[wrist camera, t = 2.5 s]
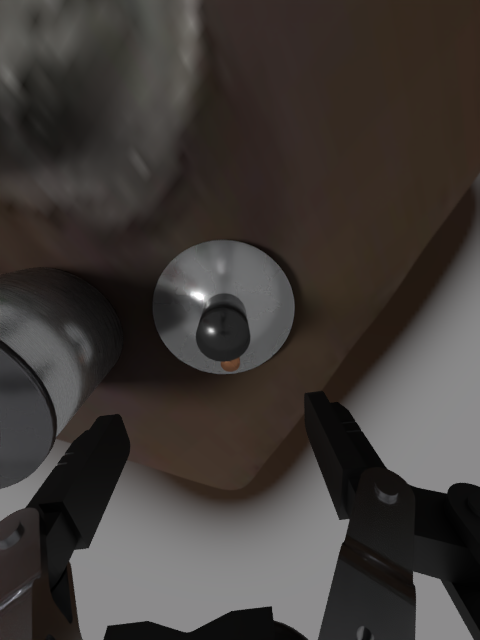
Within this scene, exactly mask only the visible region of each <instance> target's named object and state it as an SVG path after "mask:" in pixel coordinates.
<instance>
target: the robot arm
mask: <svg viewBox="0 0 480 640" xmlns="http://www.w3.org/2000/svg"><path fill="white" fill-rule="evenodd" d="M304 408H305V427H306V432H307V435H308V438H309V441H310V443H311V446H312V449H313V451H314V454H315V457H316V459H317V462H318V465H319V467H320V470H321V472H322V475H323V477H324V480H325V483H326V485H327V488H328V491H329V493H330V496H331V499H332V501H333V504H334V507H335V509H336V512H337V515H338V517H339V520H342V519H350V521H349V525H348V529H347V534H346V538H345V541H344V542H343V543H342V546H341V549H340V552H339V556H338V561H337V564H336V569H335V572H334V576H333V581H332V585H331V589H330V593H329V597H328V601H327V605H326V609H325V613H324V617H323V621H322V625H321V629H320V633H319V637H318V640H415V620H416V591H415V586H414V584H413V571H414V572H418V573H421V574H425V575H428V576H432V577H435V578H439V579H441V581H442V583H443V585H444V586H445V588H446V590H447V592H448V594H449V595H450V597H451V599H452V601H453V603H454V605H455V606H456V608H457V610H458V612H459V614H460V615H461V617H462V619H463V621H464V623H465V624H466V626H467V628H468V630H469V631H470V633H471V635H472V637H473V639H474V640H480V487H478V486H476V485H472V484H468V483H456V484H453V485H452V486H451V487H450V488H449V489H448V493H447V494H446V493H441V492H436V491H431V490H426V489H421V488H416V487H414V486H411V485H408V484H407V483H406V481H405V480H404V479H402V478H401V477H400V476H399V475H397V474H396V473H394V472H392V471H390V470H388V469H387V468H386V467H385V466H384V464H383V462H382V461H381V459H380V458H379V456H378V455H377V453H376V452H375V450H374V449H373V447H372V446H371V444H370V443H369V441H368V439H367V438H366V437H365V435H364V433H363V432H362V431H361V429H360V427H359V426H358V424H357V423H356V422H355V420H354V418H353V417H352V415H351V414H350V412H349V410H347V409H346V408H345V407H344V406H342V405H341V404H340V403H338V402H334V403H330V402H329V400H328V399H327V397H326V395H325V393H324V392H323V391H318V392H310V393H305V395H304ZM129 452H130V440H129V437H128V434H127V432H126V429H125V426H124V423H123V420H122V418H121V416H120V415H119V414H115V415H106V416H100V417H98V418H97V419H96V421H95V422H94V424H93V425H92V427H91V428H90V429H89V430H87V431H85V432H84V433H82V434H81V435H80V436H79V437H78V438H77V439H76V440H74V441H73V443H72V444H71V446H70V447H69V448H68V450H67V451H66V453H65V456H63V457H62V458H61V460H60V461H59V462H58V465H57V466H56V467H55V468H54V469H53V470H52V472H51V473H50V475H49V476H48V477H47V479H46V480H45V482H44V483H43V484H42V486H41V487H40V488H39V490H38V491H37V493H36V494H35V495H34V497H33V498H32V500H31V501H30V502H29V504H28V505H27V506H26V508H24V509H21V510H18V511H16V512H14V513H12V514H10V515H9V516H7V517H6V518H4V519H3V520H2V521H0V640H83V639H82V637H81V633H80V629H79V623H78V615H77V607H76V600H75V592H74V584H73V577H72V569H71V564H70V562H69V560H70V558H71V555H72V553H73V551H74V550H76V549H86V548H89V546H90V544H91V541H92V539H93V537H94V534H95V532H96V530H97V527H98V525H99V523H100V521H101V518H102V516H103V514H104V511H105V509H106V507H107V505H108V502H109V500H110V497H111V495H112V493H113V491H114V488H115V486H116V484H117V482H118V479H119V477H120V475H121V472H122V470H123V468H124V465H125V463H126V461H127V459H128V456H129ZM104 640H308V639H307V638H306V637H305V636H304V635H302V634H301V633H299V632H298V631H297V630H295V629H294V628H292V627H290V626H288V625H286V624H284V623H280V622H277V621H274V620H273V613H272V607H262V608H254V609H245V610H237V611H231V612H229V613H227V614H225V615H223V616H221V617H219V618H217V619H215V620H214V621H211V622H210V623H208V624H206V625H204V626H202V627H200V628H198V629H196V630H194V631H192V632H188V633H186V632H181V631H178V630H175V629H172V628H169V627H165V626H162V625H159V624H156V623H153V622H149V621H145V622H136V623H128V624H120V625H111V626H107V630H106V633H105V636H104Z"/></svg>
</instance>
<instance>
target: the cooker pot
mask: <svg viewBox="0 0 480 640" xmlns="http://www.w3.org/2000/svg"><path fill="white" fill-rule="evenodd" d="M122 347H123V331H122V327H121V323H120V320H119V318H118V315H117V314H116V312H115V310H114V308H113V307H112V305H111V304H110V303H109V301H108V300H107V299H106V298H105V297H104V296H103V294H102V293H100V292H99V291H98V290H97V289H96V288H95V287H93V286H92V285H91V284H89V283H88V282H86V281H85V280H83V279H81V278H79V277H77V276H75V275H73V274H70V273H68V272H65V271H61V270H57V269H52V268H41V267H40V268H29V269H24V270H19V271H15V272H10V273H6V274H1V275H0V489H1V488H5V487H8V486H11V485H13V484H16V483H18V482H20V481H22V480H23V479H25V478H27V477H28V476H29V475H31V474H32V473H33V472H34V471H35V470H36V469H37V468H38V467H39V466H40V464H41V463H42V462H43V461H44V460H45V458H46V457H47V456H48V454H49V453H50V451H51V449H52V447H53V445H54V442H55V439H56V437H57V435H58V434H59V433H60V432H61V431H62V429H63V428H64V427H65V426H66V424H67V423H68V422H69V421H70V419H71V418H72V417H73V416H74V414H75V413H76V412H77V411H78V410H79V408H80V407H81V406H82V405H83V403H84V402H85V401H86V400H87V398H88V397H89V396H90V395H91V393H92V392H93V391H94V390H95V389H96V387H97V386H98V385H99V384H100V382H101V381H102V380H103V379H104V377H105V376H106V375H107V374H108V373H109V371H110V370H111V369H112V368H113V366H114V365H115V364H116V362H117V361H118V359H119V357H120V354H121V352H122Z"/></svg>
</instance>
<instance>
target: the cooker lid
mask: <svg viewBox="0 0 480 640" xmlns="http://www.w3.org/2000/svg"><path fill="white" fill-rule="evenodd" d="M152 306H153V317H154V323H155V326H156V329H157V331H158V333H159V335H160V337H161V339H162V341H163V342H164V344H165V345H166V347H167V348H168V349H169V350H170V351H171V352H172V353H173V354H174V355H175V356H176V357H177V358H178V359H180V360H181V361H183V362H184V363H186V364H188V365H189V366H191V367H194V368H196V369H198V370H201V371H205V372H209V373H215V374H234V373H239V372H244V371H247V370H250V369H252V368H255V367H257V366H259V365H261V364H262V363H264V362H265V361H267V360H268V359H270V358H271V357H272V356H273V355H274V354H275V353H276V352H277V351H278V350H279V349H280V348H281V346H282V345H283V343H284V342H285V340H286V339H287V337H288V335H289V333H290V330H291V327H292V324H293V319H294V309H295V305H294V296H293V292H292V288H291V286H290V283H289V281H288V279H287V277H286V275H285V274H284V272H283V271H282V269H281V268H280V267H279V265H278V264H277V263H276V262H275V261H274V260H273V259H272V258H271V257H269V256H268V255H267V254H265V253H264V252H263V251H261V250H259V249H258V248H256V247H254V246H252V245H249V244H246V243H243V242H239V241H235V240H212V241H207V242H203V243H200V244H197V245H195V246H193V247H191V248H189V249H187V250H185V251H184V252H182V253H181V254H179V255H178V256H177V257H176V258H174V259H173V260H172V261H171V262H170V263H169V264H168V266H167V267H166V268H165V269H164V271H163V273H162V274H161V276H160V278H159V280H158V282H157V285H156V287H155V291H154V295H153V305H152Z"/></svg>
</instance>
